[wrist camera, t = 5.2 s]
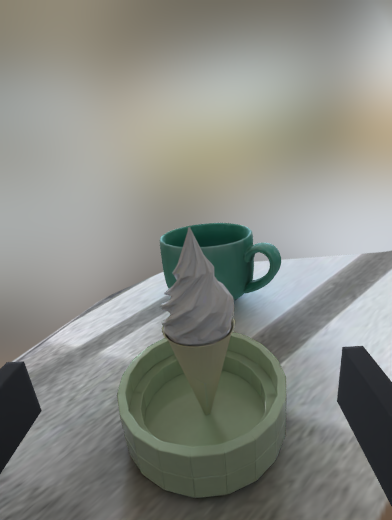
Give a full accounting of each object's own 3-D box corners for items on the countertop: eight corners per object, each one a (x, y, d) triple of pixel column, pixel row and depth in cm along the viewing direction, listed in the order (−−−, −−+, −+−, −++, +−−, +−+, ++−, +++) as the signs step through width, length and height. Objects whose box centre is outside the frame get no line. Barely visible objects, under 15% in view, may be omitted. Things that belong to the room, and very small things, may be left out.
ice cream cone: (188, 454, 19) (158, 243, 14) (167, 400, 24) (139, 225, 19) (252, 426, 21) (246, 226, 16) (222, 380, 26) (209, 213, 20)
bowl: (304, 391, 24) (306, 352, 23) (242, 553, 15) (239, 503, 13) (187, 349, 31) (183, 317, 30) (93, 442, 22) (81, 401, 20)
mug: (149, 303, 42) (139, 240, 38) (203, 273, 50) (198, 219, 47) (250, 341, 31) (248, 259, 28) (295, 294, 40) (298, 228, 37)
